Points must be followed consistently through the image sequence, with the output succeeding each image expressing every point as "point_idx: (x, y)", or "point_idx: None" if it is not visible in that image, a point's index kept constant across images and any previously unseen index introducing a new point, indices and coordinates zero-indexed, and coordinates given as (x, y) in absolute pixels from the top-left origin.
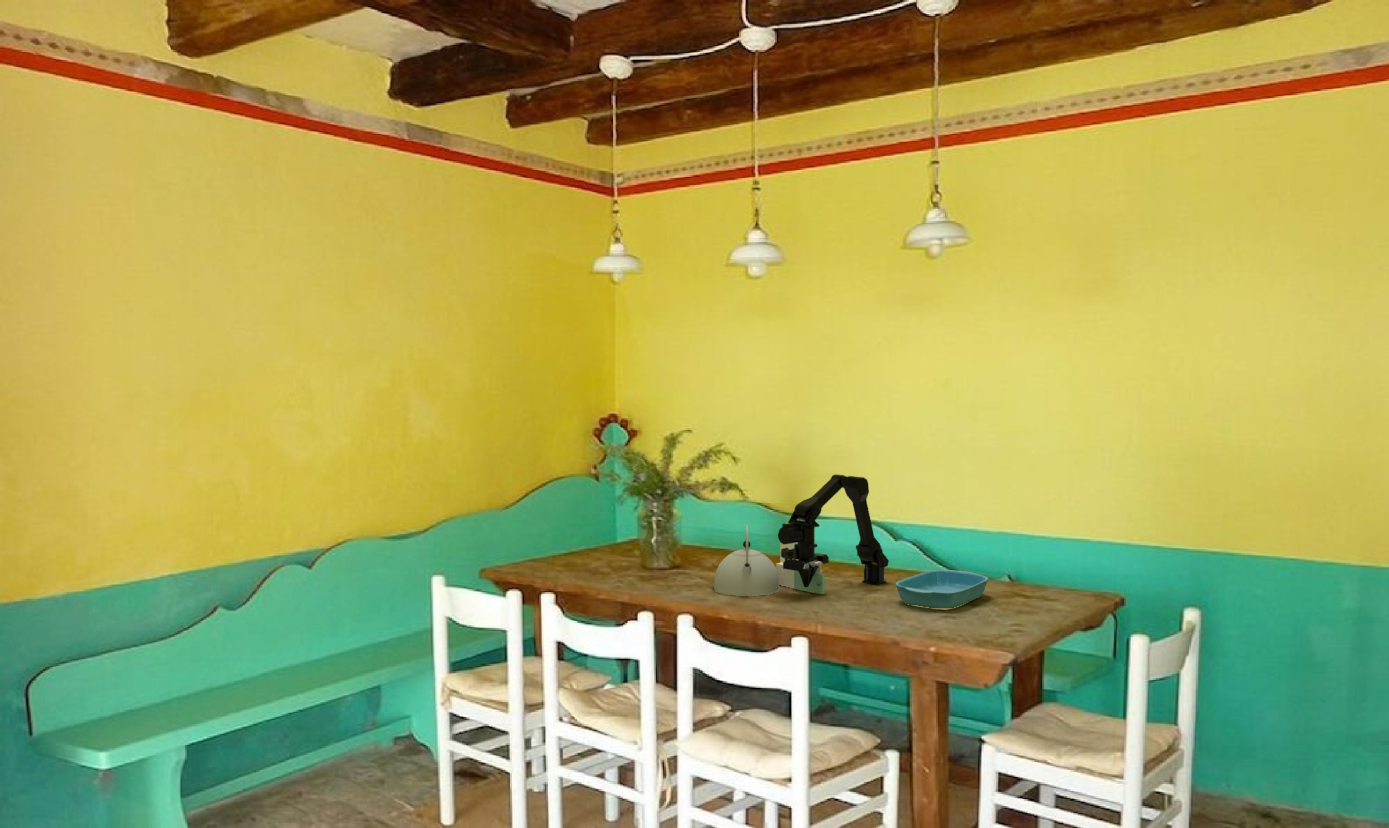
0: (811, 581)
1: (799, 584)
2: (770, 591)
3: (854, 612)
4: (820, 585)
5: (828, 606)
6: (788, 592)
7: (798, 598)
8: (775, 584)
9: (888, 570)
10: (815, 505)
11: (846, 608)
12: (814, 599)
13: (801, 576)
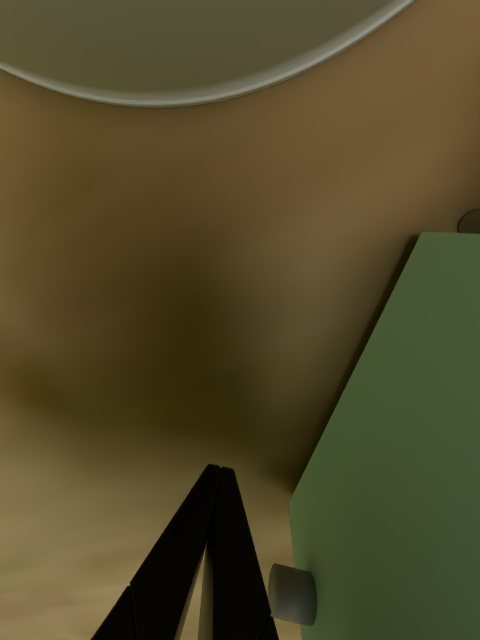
0: (357, 532)
1: (415, 329)
2: (25, 66)
3: (65, 635)
4: (305, 571)
5: (72, 563)
6: (270, 229)
7: (115, 397)
8: (101, 21)
9: None
10: None
11: (98, 612)
12: (160, 482)
13: (104, 630)
